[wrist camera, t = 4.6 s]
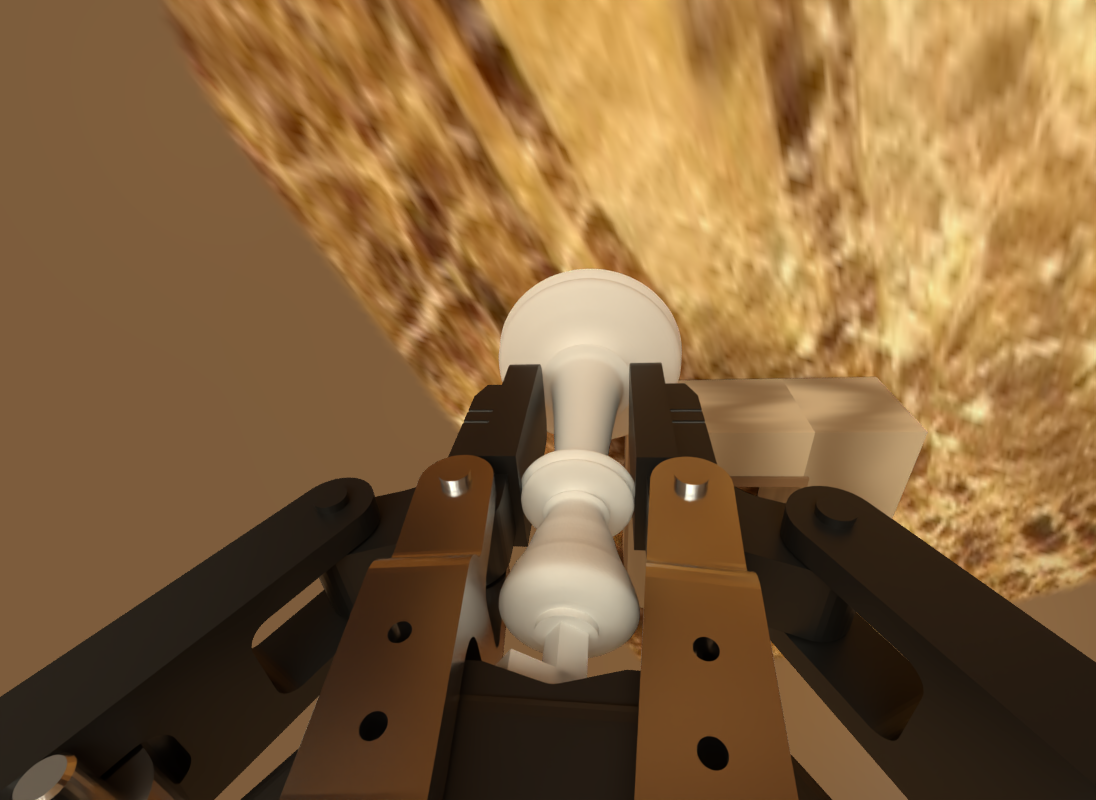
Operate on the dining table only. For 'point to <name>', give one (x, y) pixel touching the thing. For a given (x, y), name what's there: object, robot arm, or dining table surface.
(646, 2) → the dining table surface
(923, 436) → the socket block
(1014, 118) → the dining table surface
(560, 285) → the chess piece
